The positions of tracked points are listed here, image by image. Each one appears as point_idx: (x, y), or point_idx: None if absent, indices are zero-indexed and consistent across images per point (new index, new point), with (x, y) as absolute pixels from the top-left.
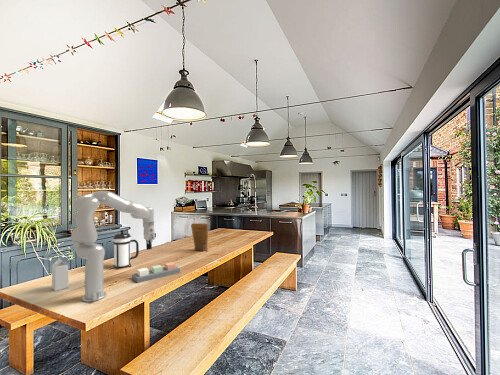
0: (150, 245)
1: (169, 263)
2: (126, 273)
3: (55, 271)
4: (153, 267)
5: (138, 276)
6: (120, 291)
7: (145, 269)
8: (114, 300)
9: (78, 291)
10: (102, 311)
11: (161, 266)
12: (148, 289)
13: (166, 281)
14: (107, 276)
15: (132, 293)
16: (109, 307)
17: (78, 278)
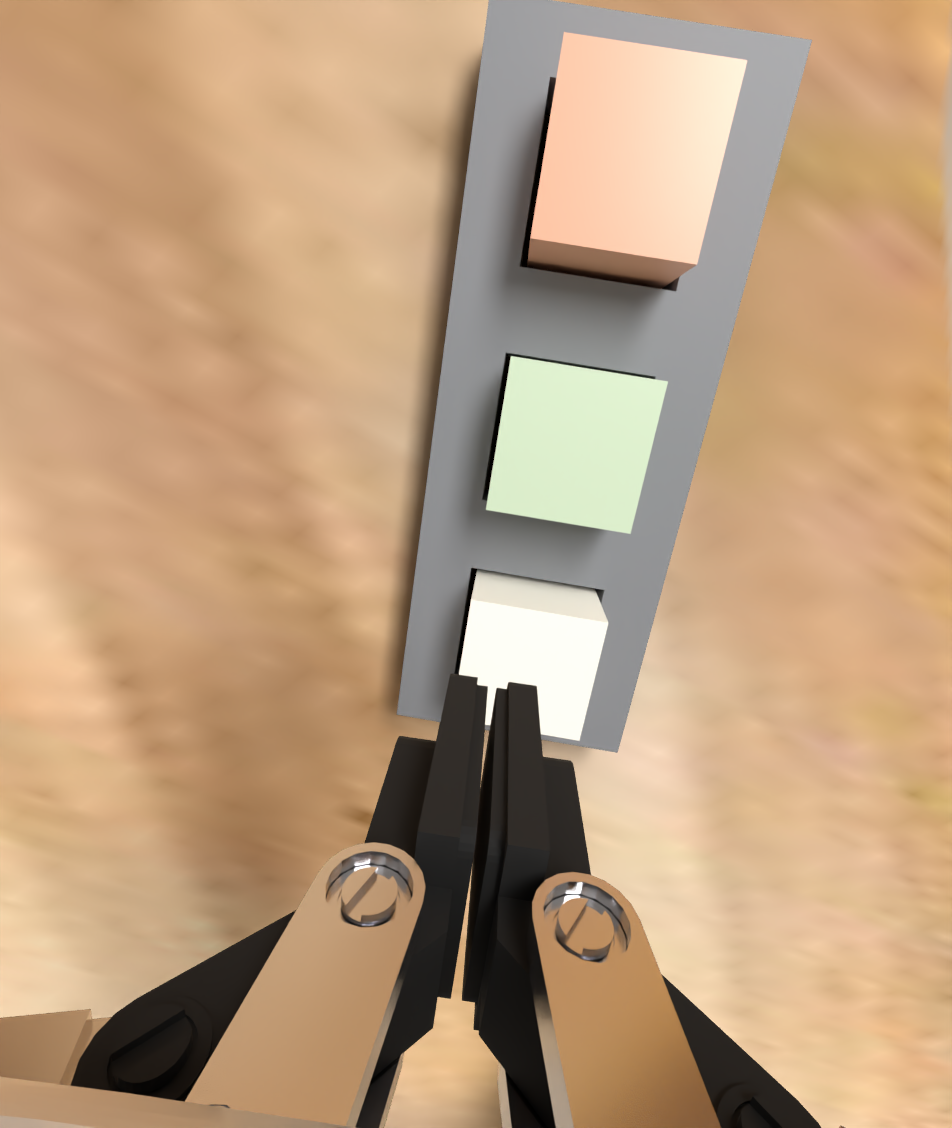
0: (582, 852)
1: (606, 145)
2: (179, 647)
3: None
4: (568, 513)
5: None
6: (673, 902)
7: (556, 647)
8: (816, 999)
9: None
10: (917, 1103)
11: (642, 387)
12: (888, 740)
13: (885, 480)
14: (142, 807)
15: (824, 868)
16: (903, 1061)
17: (23, 964)
